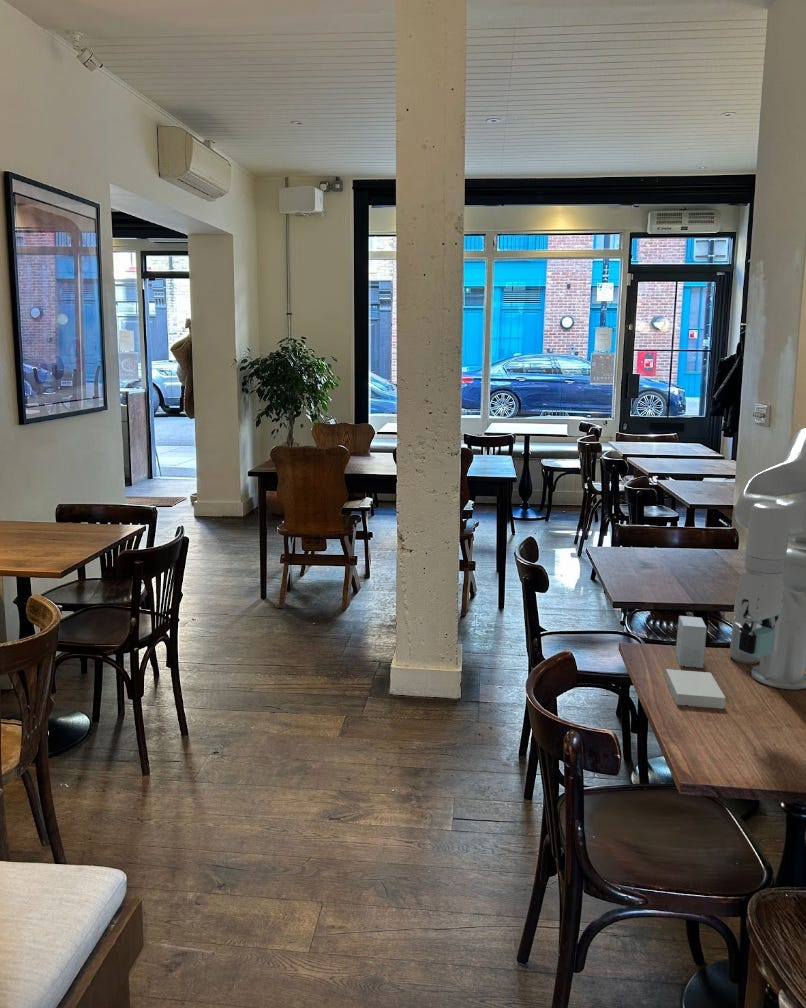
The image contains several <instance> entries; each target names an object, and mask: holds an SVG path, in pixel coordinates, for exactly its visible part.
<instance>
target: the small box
mask: <svg viewBox="0 0 806 1008" xmlns="http://www.w3.org/2000/svg"><path fill="white" fill-rule="evenodd" d="M707 629H708V627H707V625H706V624H705V621H704V620H703V618H702V617H697V616H685V615H679V616H678V622H677V633H676V634H677V635H676V643H675V658H676V660H677V662H678V665H679V667H683V666H685V667H686V668H695V667H696V668H698V669H703V668H704V662H705V652H706V643H707V642H706V641H707V640H706V639H707ZM685 667H684V668H685Z"/></svg>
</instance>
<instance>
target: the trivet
mask: <svg viewBox="0 0 806 1008" xmlns="http://www.w3.org/2000/svg"><path fill="white" fill-rule="evenodd" d="M664 680H665V683H666V685H667V687H668V689H669V692H670V693H671V697H672V699H673V698H674V699H673V700H674V702H675V705H676V706H685V705H688V706H690V707H699V708H708V709H709V708H710V709H720V710H721V709H725V707H726V706H725V705H726V696H725V695H724V693H723V691H722V689H721V688H720V686H719V684H718V683H717V681H716V679H715V677H714V676H713V674H712V673H711V672H708V671H707V672H706V671H695V670H693V671H692V670H682V669H680V670H679V669H669V668H668V669H667V668H666V669H665V676H664Z"/></svg>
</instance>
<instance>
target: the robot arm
mask: <svg viewBox="0 0 806 1008" xmlns="http://www.w3.org/2000/svg"><path fill="white" fill-rule="evenodd" d="M792 495H793V498H789V497H784V496H792ZM782 496H783V497H782ZM734 519H735V522H736V523H737V524H738V526H740V527H742V528H744V529H747V536H746V545H745V554H744V562H743V570H742V571H741V573H740V577H739V581H738V584H737V590H736V594H735V601H734V608H733V615H734V617H735V616H736V617H735V619H734V622H735V623H736V624H737V625H738V627H739V631H740V632H741V633H740V642H739V649H740V650H741V651H744V652H747V653H750V654H754V651H755V642H756V635H754V633H755V630H756V626H757V622H758V621H760V625H762V626H765V627H768V628H771V629H774V630H776V633H775V641H774V650H773V653H772V654H769V655H766V656H763V657H760V661H759V664H758V665H755V666H753V667H752V668H751V670H750V671H751V673H750V674H751V677H752V678H754V679H755V680H756V681H757V682H760V683H762V684H764V685H767V686H770V687H773V688H777V689H783V690H784V689H785V690H803V689H806V673H805V669H806V596H805V595H804V593H806V427H805V428H801V429H799V431H797V432H796V433H795V434H794V435H793V436H792V439H791V441H790V443H789V446H788V447H787V449H786V452H785V453H784V456H783V458H782V460H781V461H780V463H779V464H776V465H773V466H772V467H769V468H767V469H764V470H763V471H761V472H759V473H757V474H755V475H753V476H752V477H751V478H750V479H749V480H747V482H746V483H745V485H744V487H743V489H742V491H741V493H740V495H739V497H738V499H737V502H736V505H735V508H734ZM788 544H789V545H791V546H792V547H788ZM748 615H749V616H751V618H748ZM747 621H748V622H751V626H749V625H748V624H747Z"/></svg>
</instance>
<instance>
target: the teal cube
mask: <svg viewBox="0 0 806 1008" xmlns="http://www.w3.org/2000/svg"><path fill="white" fill-rule="evenodd" d="M748 625H749V626H751V624H748ZM740 633H741V632H740V631H739V632H738V642H737V650H738V651H741V650H740V649H739V642H740ZM775 633H776V630H774V629H771V628H768V627H765V626H762V625H759V624H757V626H756V630H755V633H754V635H756V642H755V651H754V654H750V653H747V652H744V651H741V652H743V653H746V654H749V655H751V656H754V657H757V658H760V657H763V656H766V655H769V654H772V653H773V650H774V641H775Z"/></svg>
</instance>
